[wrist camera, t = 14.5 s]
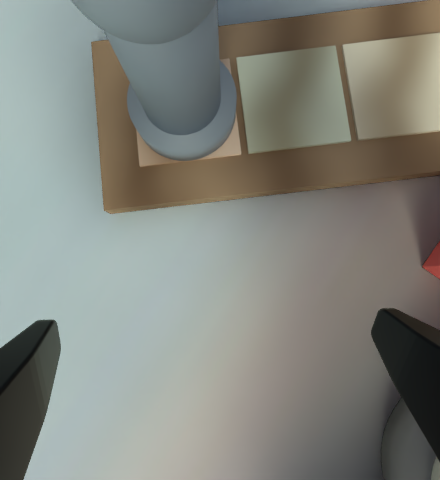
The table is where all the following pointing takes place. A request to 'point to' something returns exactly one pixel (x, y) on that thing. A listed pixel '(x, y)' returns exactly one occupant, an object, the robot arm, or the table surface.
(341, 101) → the game board
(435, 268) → the red die
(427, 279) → the table surface
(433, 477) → the dome
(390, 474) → the dome base
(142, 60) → the pawn
